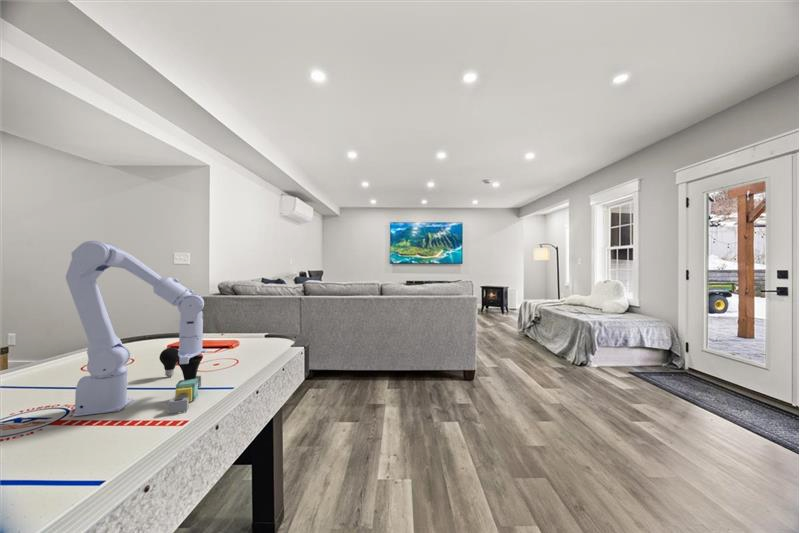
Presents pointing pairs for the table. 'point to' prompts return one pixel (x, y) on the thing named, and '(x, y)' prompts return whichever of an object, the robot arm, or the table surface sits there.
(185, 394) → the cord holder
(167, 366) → the light bulb
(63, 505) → the table surface
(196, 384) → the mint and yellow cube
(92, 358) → the robot arm
